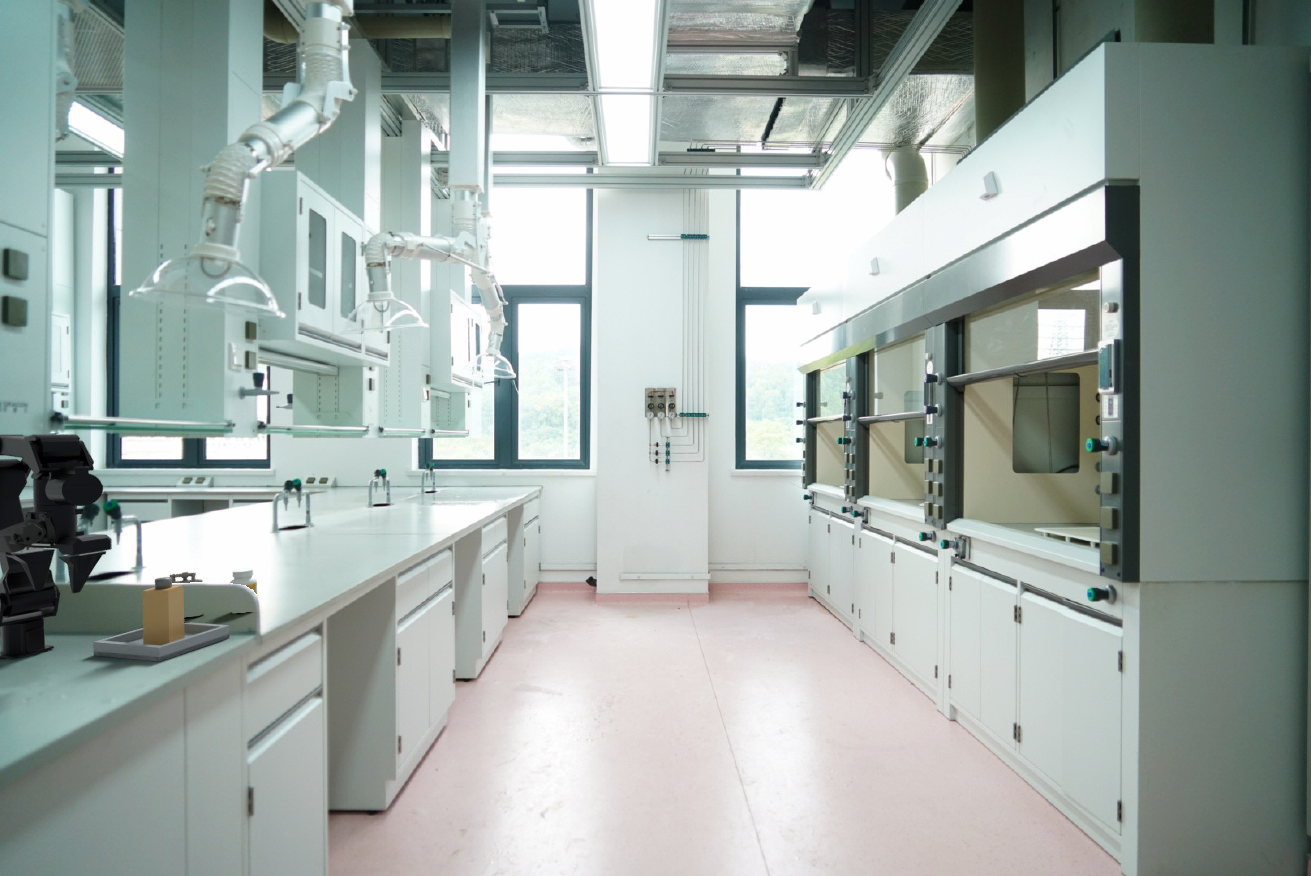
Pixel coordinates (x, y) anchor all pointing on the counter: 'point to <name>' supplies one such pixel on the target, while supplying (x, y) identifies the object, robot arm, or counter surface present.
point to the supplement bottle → (245, 578)
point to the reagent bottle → (163, 612)
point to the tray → (134, 648)
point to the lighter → (185, 578)
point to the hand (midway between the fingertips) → (57, 591)
